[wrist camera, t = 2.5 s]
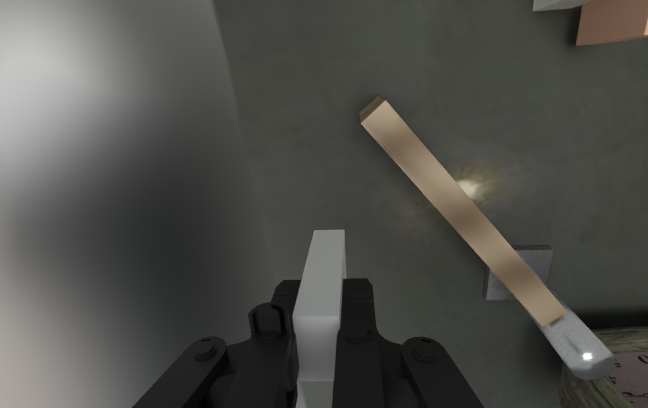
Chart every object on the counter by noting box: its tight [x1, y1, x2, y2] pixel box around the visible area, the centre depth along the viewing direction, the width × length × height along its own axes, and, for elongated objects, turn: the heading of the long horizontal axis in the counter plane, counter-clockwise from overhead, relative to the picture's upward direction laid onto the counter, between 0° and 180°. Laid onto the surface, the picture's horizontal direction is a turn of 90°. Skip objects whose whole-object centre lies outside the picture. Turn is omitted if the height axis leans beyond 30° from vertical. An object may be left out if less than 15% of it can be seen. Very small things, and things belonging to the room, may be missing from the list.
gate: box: [359, 95, 567, 327], centre depth 29 cm, size 22×2×8 cm, turn 44°
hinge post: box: [483, 246, 615, 380], centre depth 31 cm, size 6×6×13 cm
